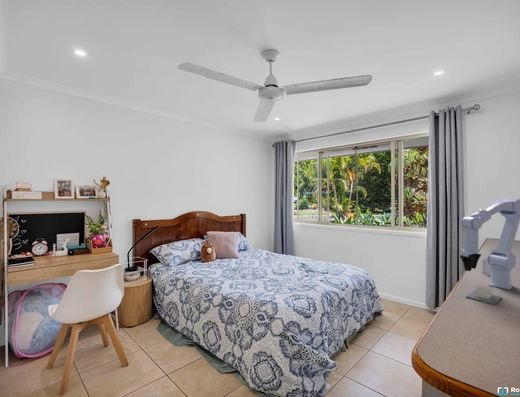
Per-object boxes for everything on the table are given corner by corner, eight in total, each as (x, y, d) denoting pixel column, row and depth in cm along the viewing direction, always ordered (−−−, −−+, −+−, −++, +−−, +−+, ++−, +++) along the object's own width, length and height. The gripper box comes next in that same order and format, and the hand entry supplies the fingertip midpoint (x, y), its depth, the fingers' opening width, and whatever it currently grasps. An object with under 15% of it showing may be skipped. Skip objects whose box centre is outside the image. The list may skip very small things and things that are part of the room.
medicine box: (499, 277, 150) (500, 262, 150) (490, 277, 151) (490, 261, 151) (490, 273, 158) (491, 259, 158) (482, 273, 159) (482, 258, 159)
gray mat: (474, 291, 127) (474, 290, 127) (502, 298, 119) (502, 296, 119) (465, 297, 120) (465, 296, 120) (494, 304, 112) (494, 303, 112)
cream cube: (478, 294, 123) (479, 284, 123) (491, 297, 119) (491, 286, 119) (475, 296, 120) (476, 286, 120) (488, 299, 117) (489, 288, 116)
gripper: (465, 239, 139) (465, 265, 139) (455, 241, 130) (455, 270, 130) (483, 240, 134) (482, 268, 134) (473, 244, 125) (473, 273, 125)
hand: (470, 269), depth 132 cm, fingers open, 7 cm apart
